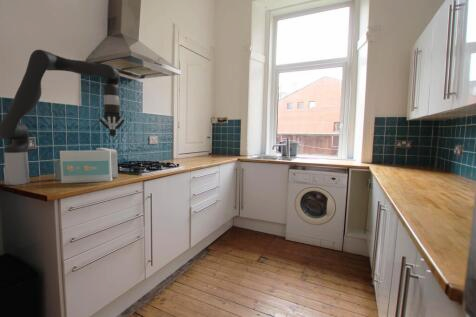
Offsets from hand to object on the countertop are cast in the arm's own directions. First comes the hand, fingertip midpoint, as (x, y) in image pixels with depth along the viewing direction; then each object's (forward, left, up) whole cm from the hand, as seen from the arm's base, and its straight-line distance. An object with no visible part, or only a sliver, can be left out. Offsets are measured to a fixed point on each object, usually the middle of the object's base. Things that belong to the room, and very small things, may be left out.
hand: (113, 136), depth 132 cm
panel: (-14, +3, -22) cm, 26 cm away
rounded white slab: (-10, +32, -27) cm, 43 cm away
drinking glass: (-31, +23, -27) cm, 47 cm away
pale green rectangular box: (-16, +8, -26) cm, 32 cm away
